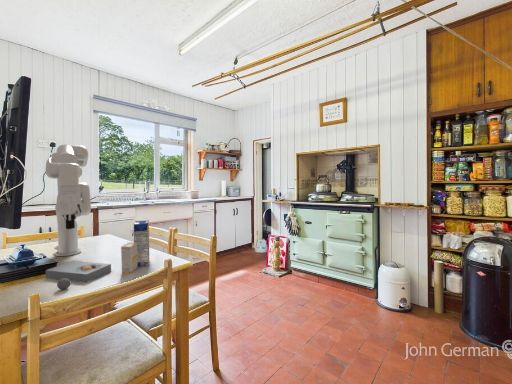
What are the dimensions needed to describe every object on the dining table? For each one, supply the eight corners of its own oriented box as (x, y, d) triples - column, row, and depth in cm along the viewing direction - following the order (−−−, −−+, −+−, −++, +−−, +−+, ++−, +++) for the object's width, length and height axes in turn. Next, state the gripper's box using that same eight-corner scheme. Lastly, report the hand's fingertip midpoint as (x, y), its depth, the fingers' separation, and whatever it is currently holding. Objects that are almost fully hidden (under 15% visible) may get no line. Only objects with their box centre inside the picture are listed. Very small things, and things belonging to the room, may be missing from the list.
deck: (45, 277, 119) (45, 270, 119) (73, 267, 132) (73, 260, 132) (86, 282, 114) (86, 274, 114) (111, 271, 128) (110, 264, 128)
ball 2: (80, 265, 120) (88, 270, 119) (88, 262, 124) (96, 267, 124) (77, 273, 121) (84, 278, 120) (85, 270, 125) (92, 275, 124)
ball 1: (54, 290, 105) (54, 280, 105) (64, 286, 110) (64, 276, 109) (63, 291, 104) (63, 281, 104) (73, 287, 109) (73, 277, 108)
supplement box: (128, 267, 133) (127, 242, 132) (137, 267, 133) (137, 242, 133) (121, 273, 125) (120, 246, 124) (131, 273, 125) (131, 246, 124)
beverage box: (134, 267, 134) (133, 224, 132) (135, 261, 144) (135, 220, 143) (148, 265, 136) (148, 223, 135) (149, 259, 146) (148, 220, 145)
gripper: (48, 189, 121) (49, 229, 122) (75, 190, 118) (76, 231, 119) (63, 189, 129) (64, 226, 130) (89, 189, 125) (90, 228, 126)
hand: (70, 228), depth 124 cm, fingers closed
